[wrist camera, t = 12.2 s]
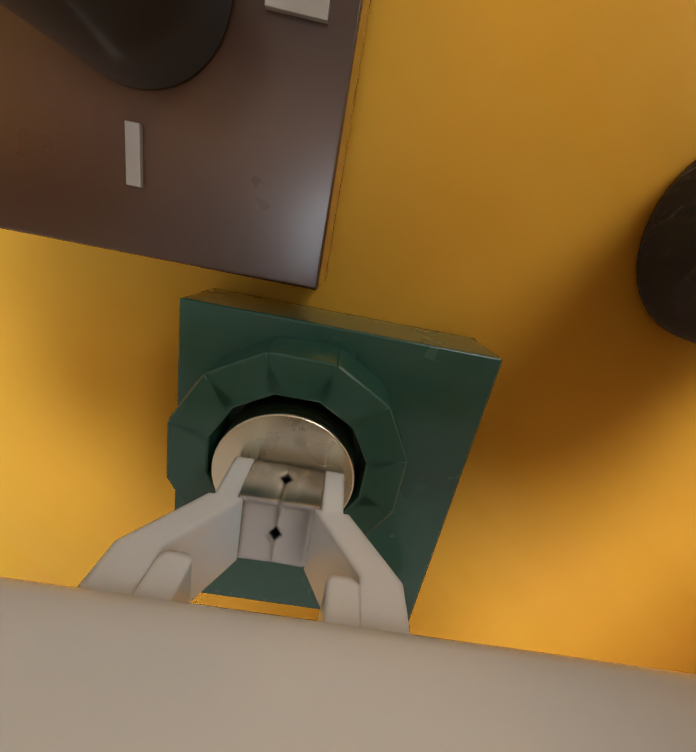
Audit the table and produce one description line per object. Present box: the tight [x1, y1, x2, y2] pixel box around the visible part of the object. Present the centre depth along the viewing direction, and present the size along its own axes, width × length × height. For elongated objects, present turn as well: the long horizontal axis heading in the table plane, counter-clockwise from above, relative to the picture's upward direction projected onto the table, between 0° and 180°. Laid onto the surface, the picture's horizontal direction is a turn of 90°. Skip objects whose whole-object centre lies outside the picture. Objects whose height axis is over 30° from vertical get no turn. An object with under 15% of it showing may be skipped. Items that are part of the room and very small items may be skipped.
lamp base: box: [167, 288, 502, 621], centre depth 13 cm, size 12×10×4 cm
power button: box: [212, 395, 354, 509], centre depth 11 cm, size 4×4×2 cm
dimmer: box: [0, 0, 371, 290], centre depth 9 cm, size 12×10×3 cm
